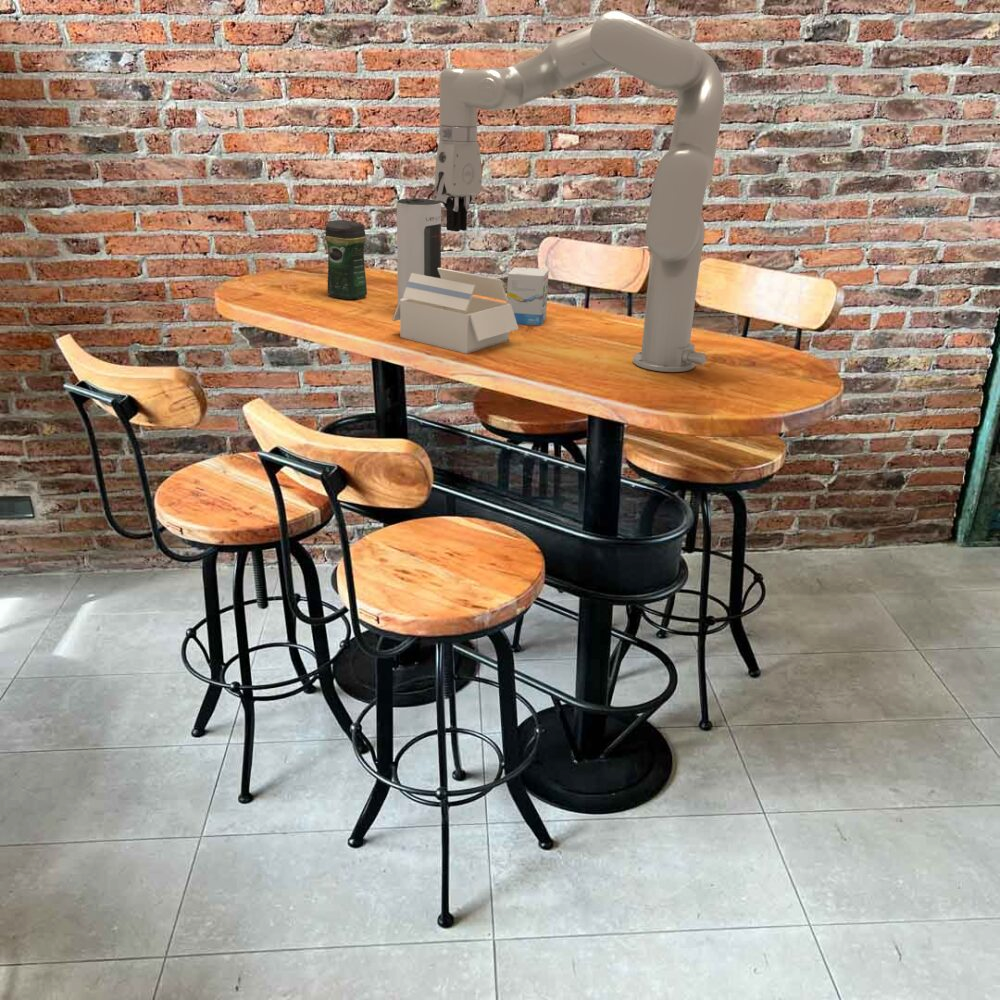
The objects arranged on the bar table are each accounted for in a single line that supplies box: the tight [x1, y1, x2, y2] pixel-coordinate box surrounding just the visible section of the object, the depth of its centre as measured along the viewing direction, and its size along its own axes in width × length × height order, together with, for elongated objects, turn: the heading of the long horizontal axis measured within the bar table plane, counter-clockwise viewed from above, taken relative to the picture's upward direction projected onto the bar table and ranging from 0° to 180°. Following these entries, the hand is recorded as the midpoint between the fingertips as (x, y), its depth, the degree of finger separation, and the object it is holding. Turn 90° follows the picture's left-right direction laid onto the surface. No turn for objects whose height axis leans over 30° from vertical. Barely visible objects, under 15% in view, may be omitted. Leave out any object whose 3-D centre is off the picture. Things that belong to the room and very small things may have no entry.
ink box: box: [506, 266, 550, 327], centre depth 227 cm, size 8×8×12 cm
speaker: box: [396, 197, 442, 304], centre depth 228 cm, size 11×10×26 cm
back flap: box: [438, 267, 508, 302], centre depth 211 cm, size 17×1×6 cm, turn 53°
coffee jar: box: [324, 219, 368, 300], centre depth 242 cm, size 10×8×19 cm
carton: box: [392, 295, 519, 355], centre depth 210 cm, size 24×14×8 cm, turn 53°
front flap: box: [403, 273, 475, 311], centre depth 203 cm, size 17×1×6 cm
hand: (456, 229), depth 202 cm, fingers closed
